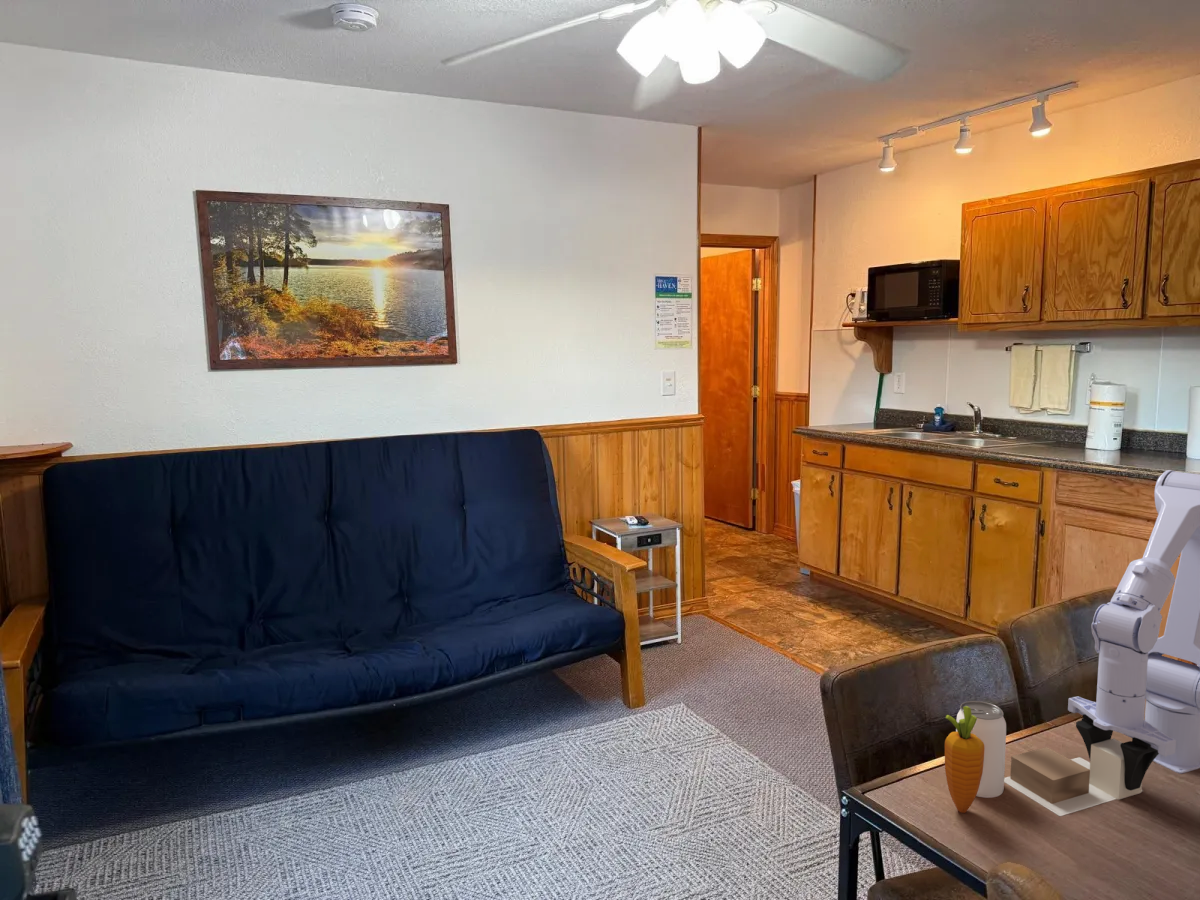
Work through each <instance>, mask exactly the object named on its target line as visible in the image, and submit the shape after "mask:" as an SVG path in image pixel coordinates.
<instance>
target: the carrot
mask: <svg viewBox="0 0 1200 900" xmlns="http://www.w3.org/2000/svg"><path fill="white" fill-rule="evenodd" d="M963 710H964V719H960V720H959V722H957V719H956V718H954V717H952V716H951V715H949V714H946V715H945V719H946V720H948V721H949V722H950V723H951V724H952V725H953V726H954V727H955V730H956V729H957V732H956V731H951V732H950V733H948V736H946V738H945V740H944V769H945V770H944V771H945V772H944V773H945V776H946V777H945V778H946V782H947V783H946V784H947V787H948V792H949V794H950V797H951V800H952V802H953V804H954V806H955V809H956V810H957V811H958V812H959V813H962V814H965V813H967V812H968V810H969V809H970V807H971V806H972V804H973V802H974V800H975V799H976V797H977V796H976V795H977V792H978V789H979V785H980V781H981V777H982V772H983V762H984V749H985V747H984V743H983V742H982V741H981V740H980V739H979V738H978V737H977V736H976V735H975V734H972V733H971V731H972V729H973V727H974V725H975V723H976V720H977V718H976V717H975V716H974V715H972V714H971V708H969V707H968V706H965V707H963Z"/></svg>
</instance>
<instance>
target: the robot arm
mask: <svg viewBox="0 0 1200 900" xmlns="http://www.w3.org/2000/svg"><path fill="white" fill-rule="evenodd" d="M1154 505H1155V509H1156V512H1157V517H1156V520H1155V522H1154V527H1153V529H1152V531H1151V533H1150V536H1149V539H1148V542H1147V544H1146V547H1145V550H1144V552H1143V556H1142V557H1141V558H1138V559H1134V560H1131V562H1129V564H1128V566H1127V567H1126V570H1125V572H1124V574H1123V575H1122V577H1121V579H1120V581H1119V583H1118V585H1117V588H1116V589H1115V592H1114V593H1113V595H1112V597H1111V599H1110V602H1107V603H1102V604H1101V605H1099V606H1098V607H1097V609H1096V610H1095V613H1094V614H1093V615H1094V616H1093V619H1092V623H1091V624H1090V625H1091V627H1090V628H1091V629H1090V630H1091V633H1092V637H1093V638H1094V650H1095V652H1096V653H1097V654H1098V668H1097V682H1096V683H1097V685H1096V701H1092V700H1089V699H1086V698H1083V697H1081V696H1072V697H1069V698H1068V703H1067V704H1068V705H1067V711H1069V713H1070V712H1071V713H1073V714H1079V715H1081V716H1082V718H1081V720H1078V721H1076V722H1075V728H1076V729H1077V731H1078V732H1079V735H1080V736H1081V738H1082V741H1083V743H1084V745H1085V747H1086V751H1087V754H1088V758H1089V760H1090V757H1091V744H1095V743H1098V742H1102V741H1106V740H1109V739H1112V736H1113V733H1114V732H1116V733H1119V734H1122V735H1125V736H1126V737H1128V738H1131V740H1129V741H1126V742H1122V743H1121V745H1120V747H1121V749H1122V752H1123V756H1124V762H1125V779H1124V781H1125V788H1126V789H1128V790H1130V791H1131V790H1134V789H1138V788H1140V786H1141V783H1142V784H1143V780H1144V778H1145V775H1146V773H1147V771H1148V769H1149V767H1150V766H1151V764H1152V763H1153V762H1154V763H1156V764H1158V765H1159V766H1162V767H1164V768H1166V769H1169V770H1170V771H1172V772H1175V773H1177V774H1186V773H1188V772H1191V771H1196V770H1198V769H1200V473H1191V472H1183V471H1182V472H1181V471H1175V470H1172V469H1167V470H1165V471H1163V473H1162V474H1161V475H1160V476H1159V477H1158V478H1157V480H1156V482H1155V486H1154ZM1179 556H1180V557H1179ZM1178 558H1179V562H1178V567H1177V571H1176V577H1175V576H1174V574H1173V572H1172V571H1171V569H1172V567H1173V566H1174V564H1175V562H1176V561H1177V559H1178ZM1172 590H1173V591H1172ZM1171 591H1172V594H1171ZM1170 594H1171V600H1170V605H1169V610H1168V613H1167V618H1166V624H1165V628H1164V632H1163V635H1162V636H1160V637H1159V634H1160V628H1161V624H1162V621H1163V619H1162V618H1163V615H1162V614H1161V610H1162V609H1163V606H1164V605H1165V602H1166V601H1167V599H1168V596H1169V595H1170ZM1165 655H1167V656H1171V657H1167V656H1165ZM1172 657H1173V658H1172ZM1174 657H1175V658H1174ZM1176 658H1178V659H1181V660H1184V661H1181V660H1178V659H1176ZM1185 661H1188V662H1190V663H1188V662H1185ZM1192 663H1193V664H1192Z"/></svg>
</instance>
